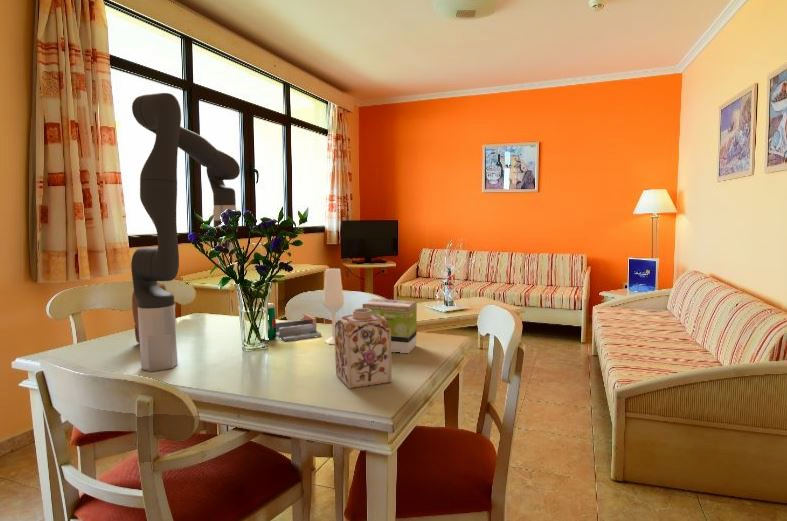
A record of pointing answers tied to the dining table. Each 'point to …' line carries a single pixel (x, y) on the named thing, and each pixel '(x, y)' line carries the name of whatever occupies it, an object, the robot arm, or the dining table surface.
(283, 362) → the dining table surface
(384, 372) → the decorative jar
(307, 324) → the coupler bracket
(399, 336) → the tea box
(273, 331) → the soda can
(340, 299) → the champagne flute
